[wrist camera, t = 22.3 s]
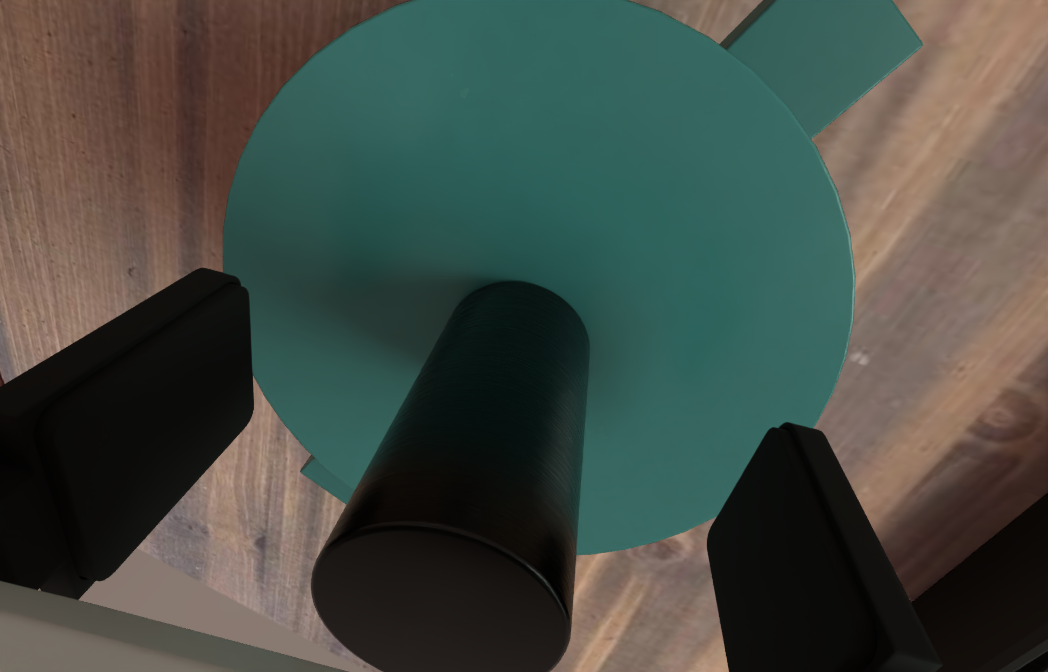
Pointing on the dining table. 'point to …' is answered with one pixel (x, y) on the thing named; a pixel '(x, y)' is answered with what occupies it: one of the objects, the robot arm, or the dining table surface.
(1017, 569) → the food platter
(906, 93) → the dining table surface
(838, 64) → the pot
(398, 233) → the lid
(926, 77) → the dining table surface
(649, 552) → the dining table surface
